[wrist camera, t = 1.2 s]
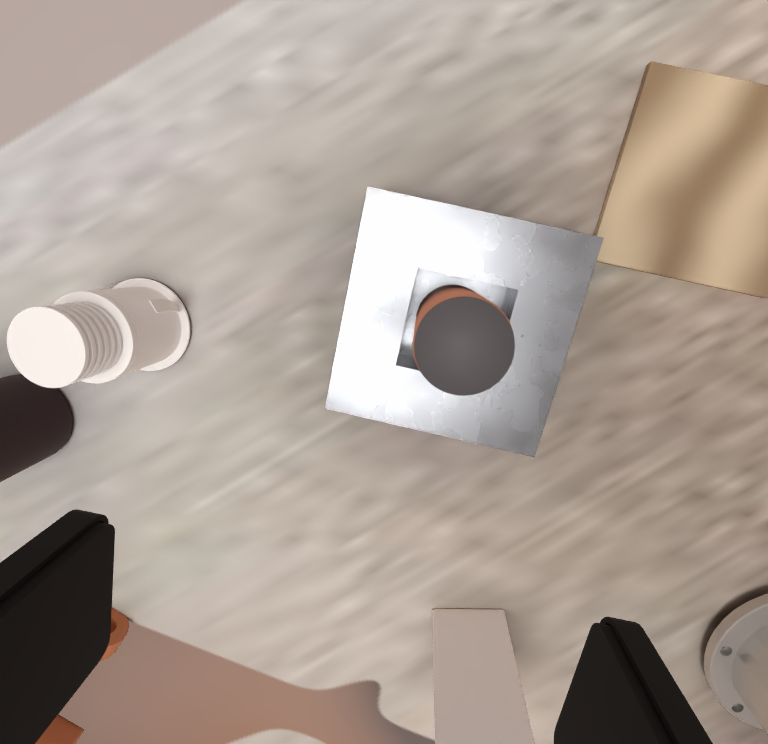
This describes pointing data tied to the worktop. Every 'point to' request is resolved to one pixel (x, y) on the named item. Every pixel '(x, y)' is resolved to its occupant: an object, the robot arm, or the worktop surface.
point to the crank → (64, 733)
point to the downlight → (100, 334)
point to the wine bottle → (30, 423)
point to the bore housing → (482, 275)
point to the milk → (476, 680)
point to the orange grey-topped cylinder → (462, 341)
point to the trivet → (692, 182)
